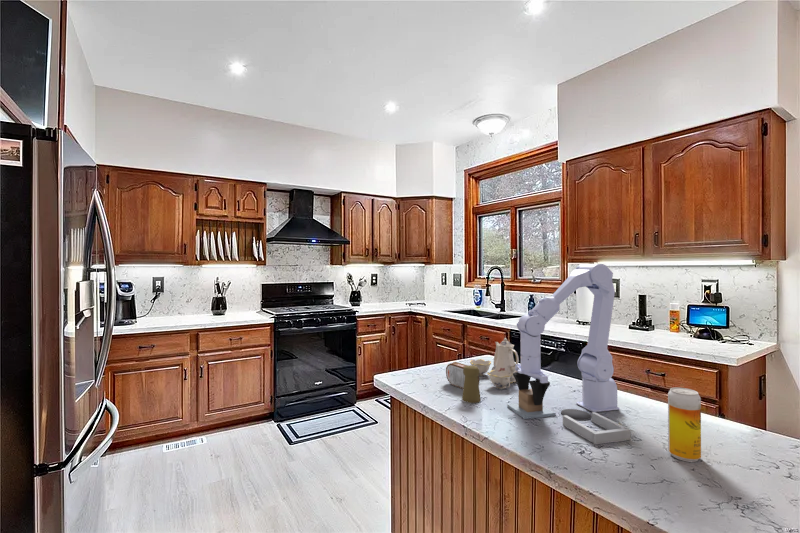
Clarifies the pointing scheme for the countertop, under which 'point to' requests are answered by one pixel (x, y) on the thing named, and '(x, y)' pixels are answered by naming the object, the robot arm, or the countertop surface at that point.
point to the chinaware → (499, 365)
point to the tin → (456, 374)
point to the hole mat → (576, 414)
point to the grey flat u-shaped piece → (610, 435)
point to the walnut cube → (528, 401)
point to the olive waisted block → (471, 385)
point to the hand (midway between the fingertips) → (530, 400)
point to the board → (527, 415)
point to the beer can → (684, 424)
